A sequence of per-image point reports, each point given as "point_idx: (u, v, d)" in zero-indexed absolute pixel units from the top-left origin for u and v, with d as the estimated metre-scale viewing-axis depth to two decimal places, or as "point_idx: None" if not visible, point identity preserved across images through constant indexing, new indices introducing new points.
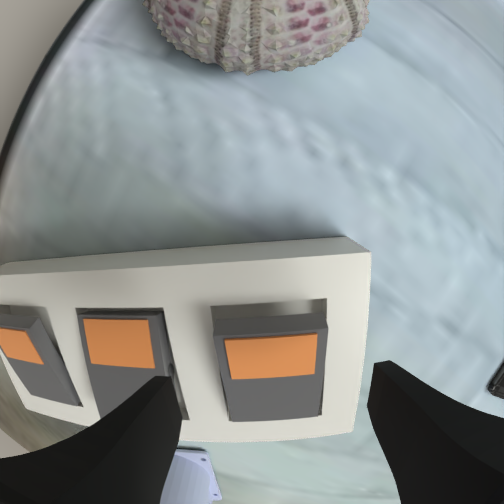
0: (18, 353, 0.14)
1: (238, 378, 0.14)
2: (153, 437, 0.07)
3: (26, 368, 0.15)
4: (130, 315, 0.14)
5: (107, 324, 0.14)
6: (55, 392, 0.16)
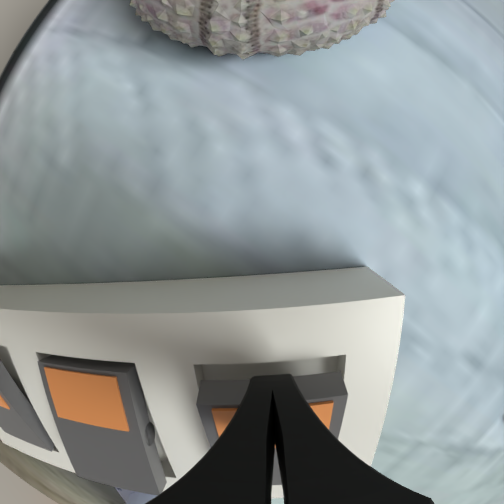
0: None
1: None
2: (271, 441, 0.07)
3: None
4: (96, 369, 0.10)
5: (70, 377, 0.10)
6: (27, 435, 0.11)
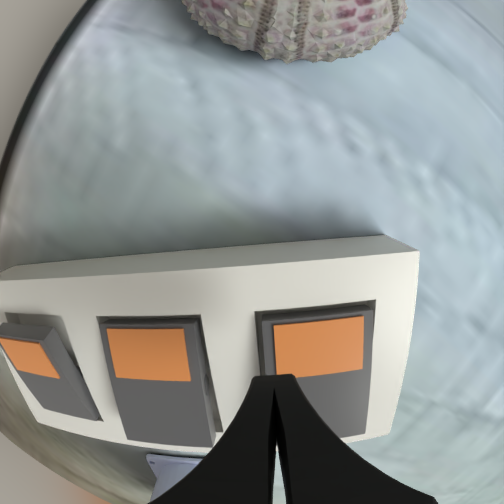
0: (30, 366, 0.13)
1: None
2: (272, 440, 0.07)
3: (39, 382, 0.14)
4: (162, 324, 0.13)
5: (136, 334, 0.13)
6: (72, 407, 0.14)
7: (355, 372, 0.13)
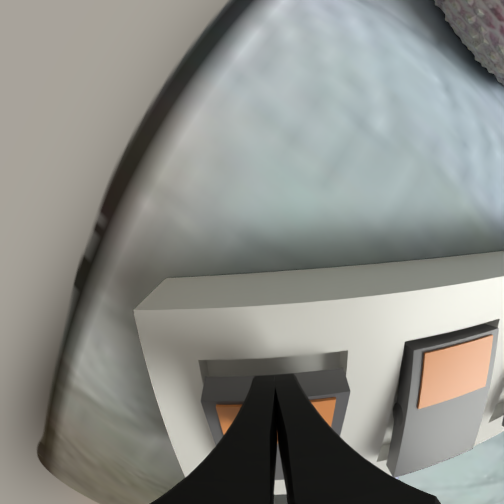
0: None
1: None
2: (273, 441, 0.07)
3: None
4: (475, 334, 0.10)
5: (455, 351, 0.10)
6: None
7: None
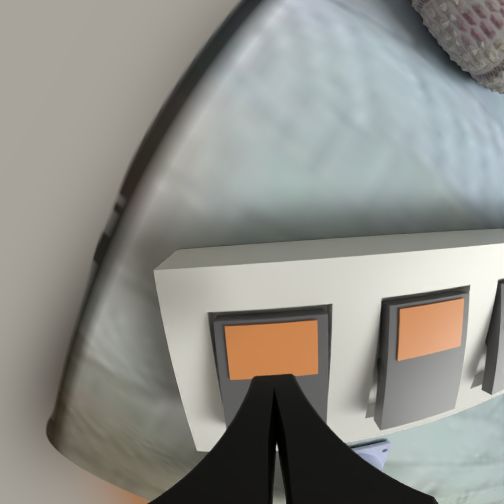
0: (270, 365, 0.13)
1: None
2: (272, 440, 0.07)
3: None
4: (446, 296, 0.13)
5: (428, 310, 0.12)
6: None
7: None
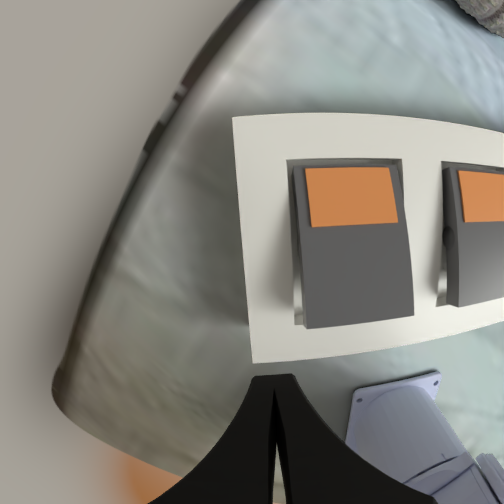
0: (352, 210, 0.12)
1: None
2: (272, 440, 0.07)
3: (348, 246, 0.12)
4: (491, 171, 0.12)
5: (480, 177, 0.12)
6: (387, 291, 0.12)
7: None
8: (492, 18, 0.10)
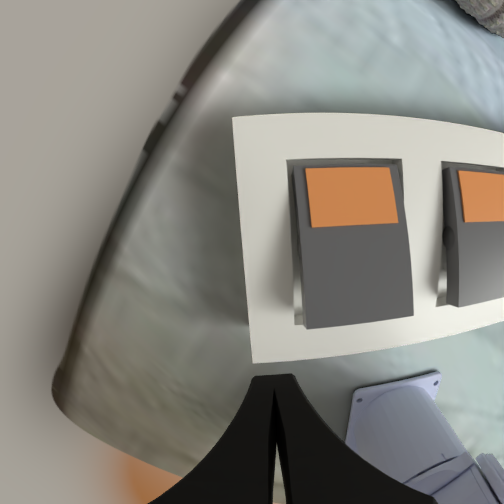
0: (353, 210, 0.12)
1: None
2: (272, 440, 0.07)
3: (348, 246, 0.12)
4: (491, 171, 0.12)
5: (480, 177, 0.12)
6: (386, 292, 0.12)
7: None
8: (492, 18, 0.10)
